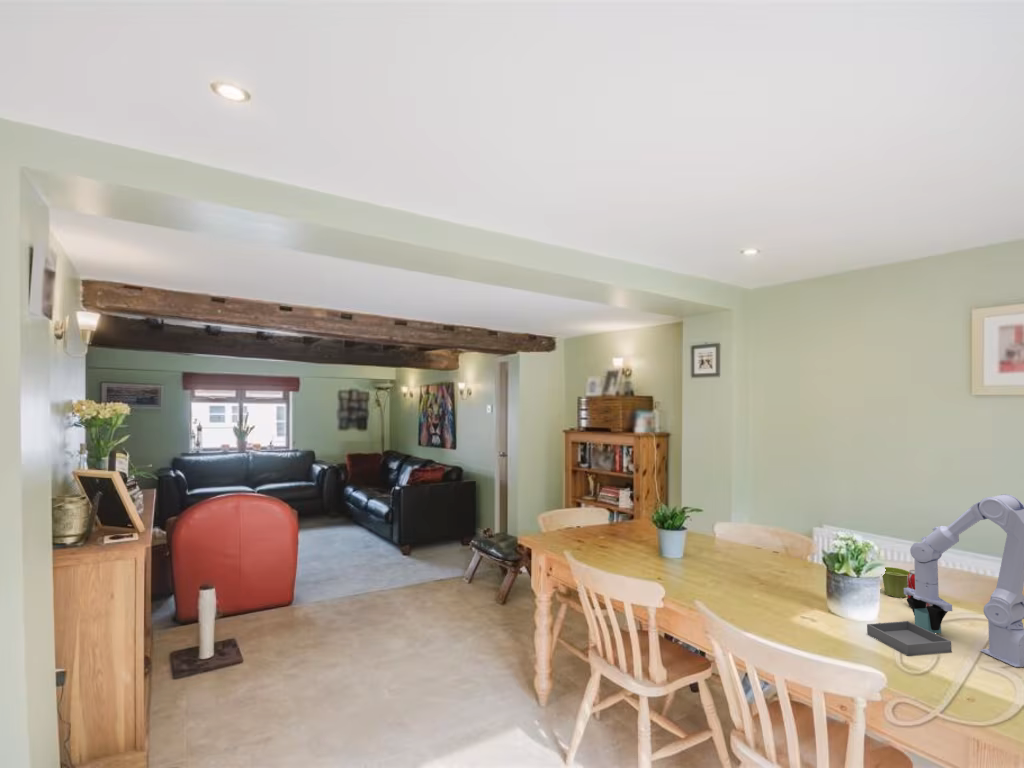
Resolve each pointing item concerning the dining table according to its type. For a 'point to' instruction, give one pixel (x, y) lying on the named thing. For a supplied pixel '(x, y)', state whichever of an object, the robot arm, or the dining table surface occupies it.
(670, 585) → the dining table surface
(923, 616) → the teal block
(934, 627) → the robot arm
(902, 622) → the tray
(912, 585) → the soda can
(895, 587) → the plant pot
